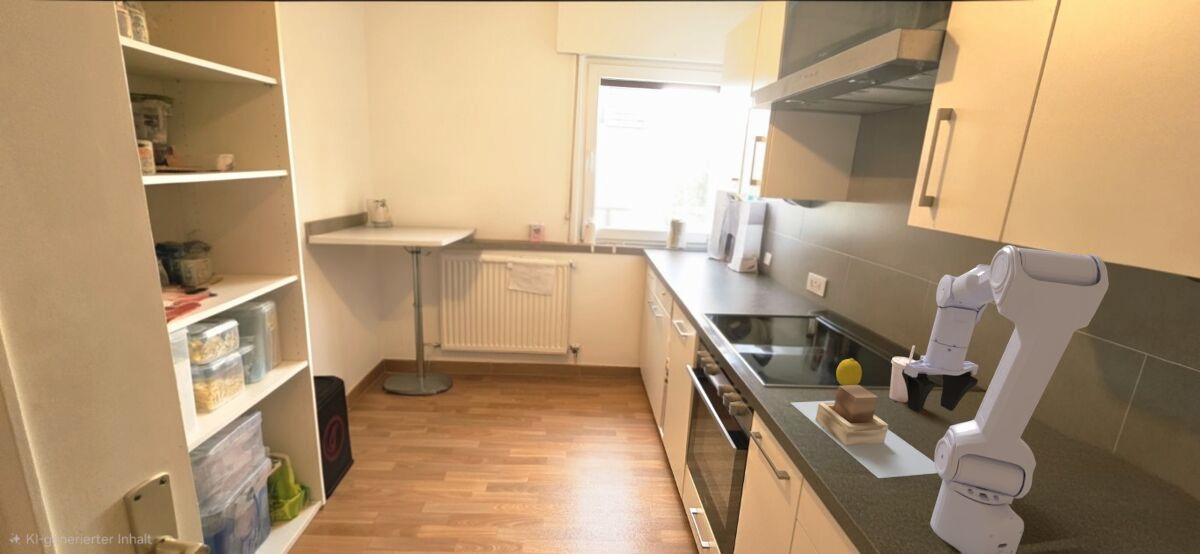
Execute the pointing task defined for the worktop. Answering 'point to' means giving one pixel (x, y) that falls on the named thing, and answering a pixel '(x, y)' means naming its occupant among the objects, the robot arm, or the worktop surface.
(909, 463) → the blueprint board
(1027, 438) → the worktop surface
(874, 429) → the socket base
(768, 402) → the worktop surface
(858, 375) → the lemon
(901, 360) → the smoothie
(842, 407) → the walnut block
